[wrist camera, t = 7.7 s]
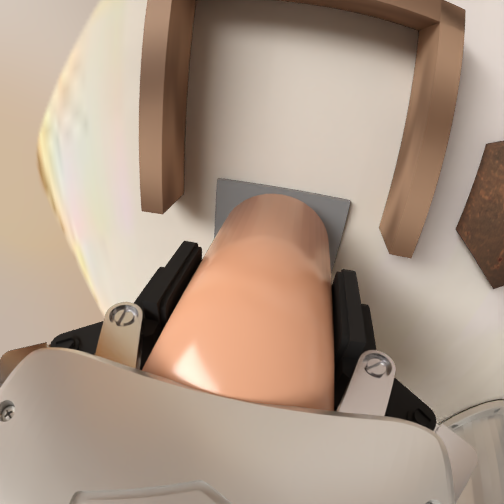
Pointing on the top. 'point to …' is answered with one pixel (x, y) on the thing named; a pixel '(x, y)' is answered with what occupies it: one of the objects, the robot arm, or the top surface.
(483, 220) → the robot figurine
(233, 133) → the top surface
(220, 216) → the mat
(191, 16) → the frame
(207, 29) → the top surface
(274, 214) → the peach rounded cylinder
